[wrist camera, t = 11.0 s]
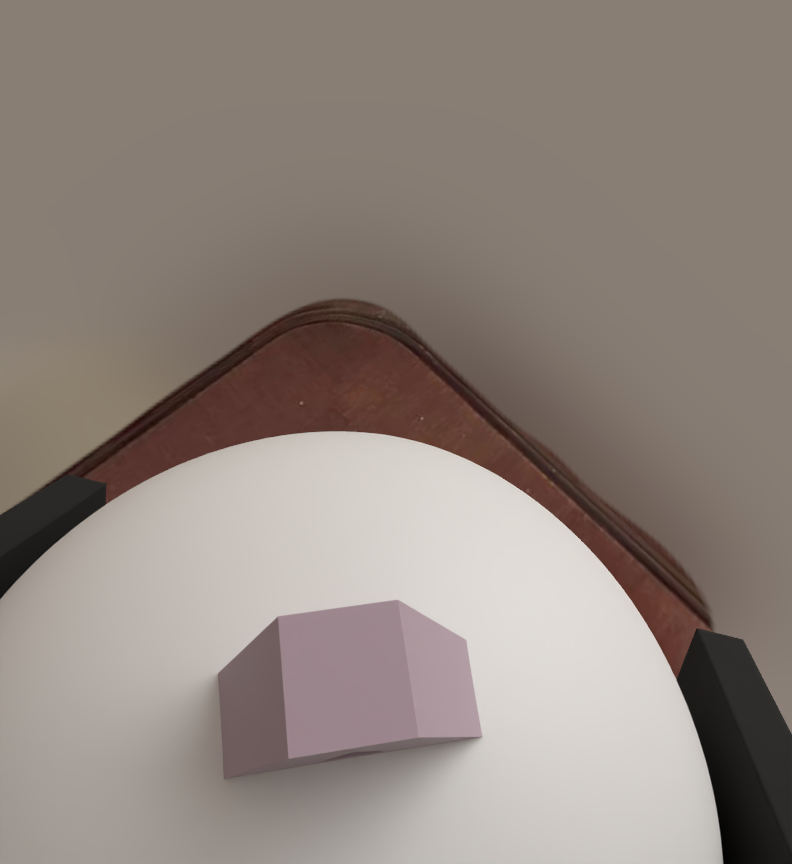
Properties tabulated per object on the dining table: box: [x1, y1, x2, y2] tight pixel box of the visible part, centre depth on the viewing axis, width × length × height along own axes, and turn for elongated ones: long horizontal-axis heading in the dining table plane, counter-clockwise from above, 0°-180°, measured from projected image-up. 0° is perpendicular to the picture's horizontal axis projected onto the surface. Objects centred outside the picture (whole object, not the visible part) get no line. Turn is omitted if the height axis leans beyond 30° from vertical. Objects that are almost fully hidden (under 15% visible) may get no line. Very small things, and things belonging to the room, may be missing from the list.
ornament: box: [0, 432, 723, 864], centre depth 9 cm, size 10×10×12 cm
